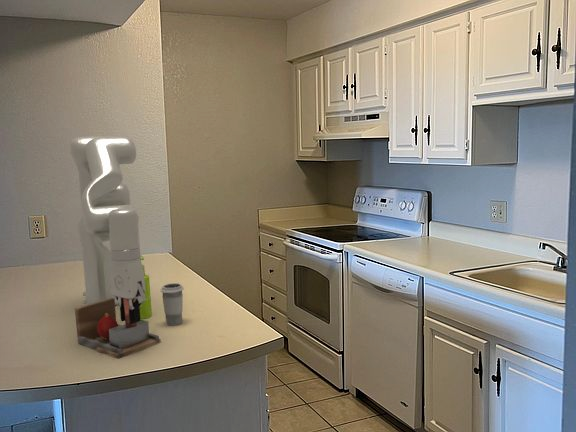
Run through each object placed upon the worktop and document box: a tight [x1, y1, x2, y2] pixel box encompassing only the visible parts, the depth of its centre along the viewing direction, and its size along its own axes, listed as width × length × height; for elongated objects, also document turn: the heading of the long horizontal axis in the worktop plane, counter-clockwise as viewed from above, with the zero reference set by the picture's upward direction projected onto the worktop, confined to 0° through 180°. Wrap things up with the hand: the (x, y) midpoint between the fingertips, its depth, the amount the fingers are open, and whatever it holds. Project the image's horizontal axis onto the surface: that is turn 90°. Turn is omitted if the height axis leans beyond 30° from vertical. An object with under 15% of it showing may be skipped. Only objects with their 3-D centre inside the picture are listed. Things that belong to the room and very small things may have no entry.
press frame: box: [74, 298, 162, 359], centre depth 157 cm, size 20×14×10 cm
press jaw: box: [109, 298, 150, 349], centre depth 153 cm, size 5×10×15 cm, turn 142°
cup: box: [160, 282, 185, 327], centre depth 172 cm, size 7×7×12 cm
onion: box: [97, 313, 119, 341], centre depth 159 cm, size 6×6×8 cm
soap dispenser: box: [135, 254, 153, 320], centre depth 179 cm, size 6×7×20 cm
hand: (130, 320), depth 152 cm, fingers closed on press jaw, 3 cm apart
